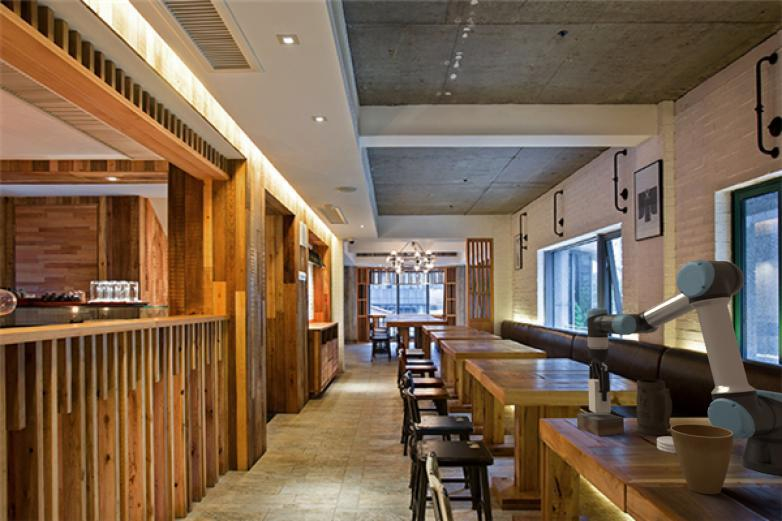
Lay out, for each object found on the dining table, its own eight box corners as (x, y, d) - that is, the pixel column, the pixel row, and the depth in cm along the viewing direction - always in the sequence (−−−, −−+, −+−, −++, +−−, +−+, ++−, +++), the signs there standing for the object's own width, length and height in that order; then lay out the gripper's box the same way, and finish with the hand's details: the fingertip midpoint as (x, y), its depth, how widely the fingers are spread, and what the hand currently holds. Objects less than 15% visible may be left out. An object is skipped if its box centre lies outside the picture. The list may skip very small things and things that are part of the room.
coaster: (656, 452, 181) (656, 441, 181) (657, 444, 189) (657, 434, 190) (690, 456, 176) (689, 445, 176) (689, 448, 185) (689, 438, 185)
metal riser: (624, 434, 204) (623, 418, 205) (597, 436, 201) (597, 420, 201) (602, 426, 216) (602, 411, 216) (577, 429, 212) (577, 413, 212)
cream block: (610, 412, 206) (609, 381, 206) (595, 413, 205) (594, 381, 206) (604, 409, 212) (603, 378, 212) (589, 409, 211) (588, 379, 212)
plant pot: (712, 479, 153) (710, 422, 154) (749, 499, 138) (746, 436, 139) (661, 480, 152) (659, 423, 153) (692, 500, 138) (690, 437, 139)
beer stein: (629, 429, 209) (630, 378, 209) (648, 426, 214) (649, 376, 214) (663, 442, 195) (665, 387, 195) (683, 438, 200) (684, 385, 200)
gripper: (618, 350, 201) (620, 412, 199) (597, 345, 220) (598, 402, 218) (599, 350, 200) (600, 413, 199) (579, 345, 219) (580, 402, 218)
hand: (599, 407), depth 209 cm, fingers closed on cream block, 6 cm apart
